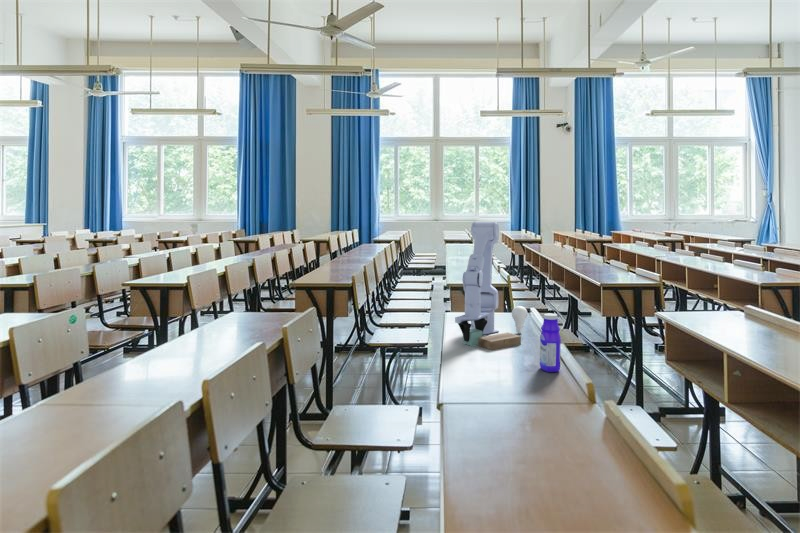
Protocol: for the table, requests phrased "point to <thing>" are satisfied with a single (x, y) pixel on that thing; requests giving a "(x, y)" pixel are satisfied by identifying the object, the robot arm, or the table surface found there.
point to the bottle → (550, 344)
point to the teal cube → (473, 337)
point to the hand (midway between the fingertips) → (472, 339)
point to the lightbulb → (519, 318)
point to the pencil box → (499, 341)
